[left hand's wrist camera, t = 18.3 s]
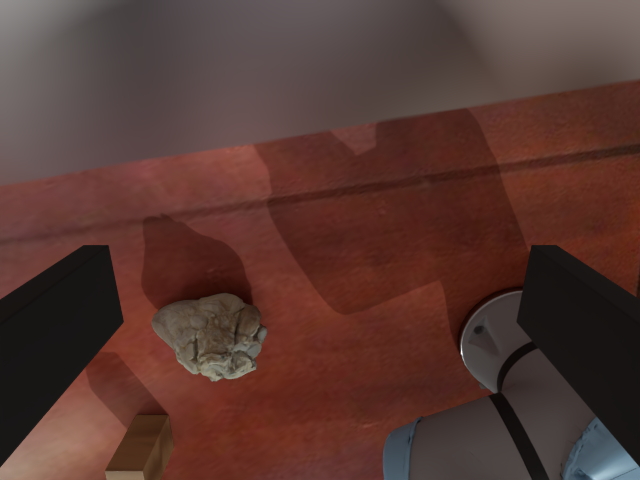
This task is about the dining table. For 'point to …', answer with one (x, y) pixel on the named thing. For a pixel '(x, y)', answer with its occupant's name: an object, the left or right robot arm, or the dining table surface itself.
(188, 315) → the lumpy boulder
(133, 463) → the block
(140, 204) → the dining table surface
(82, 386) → the dining table surface
